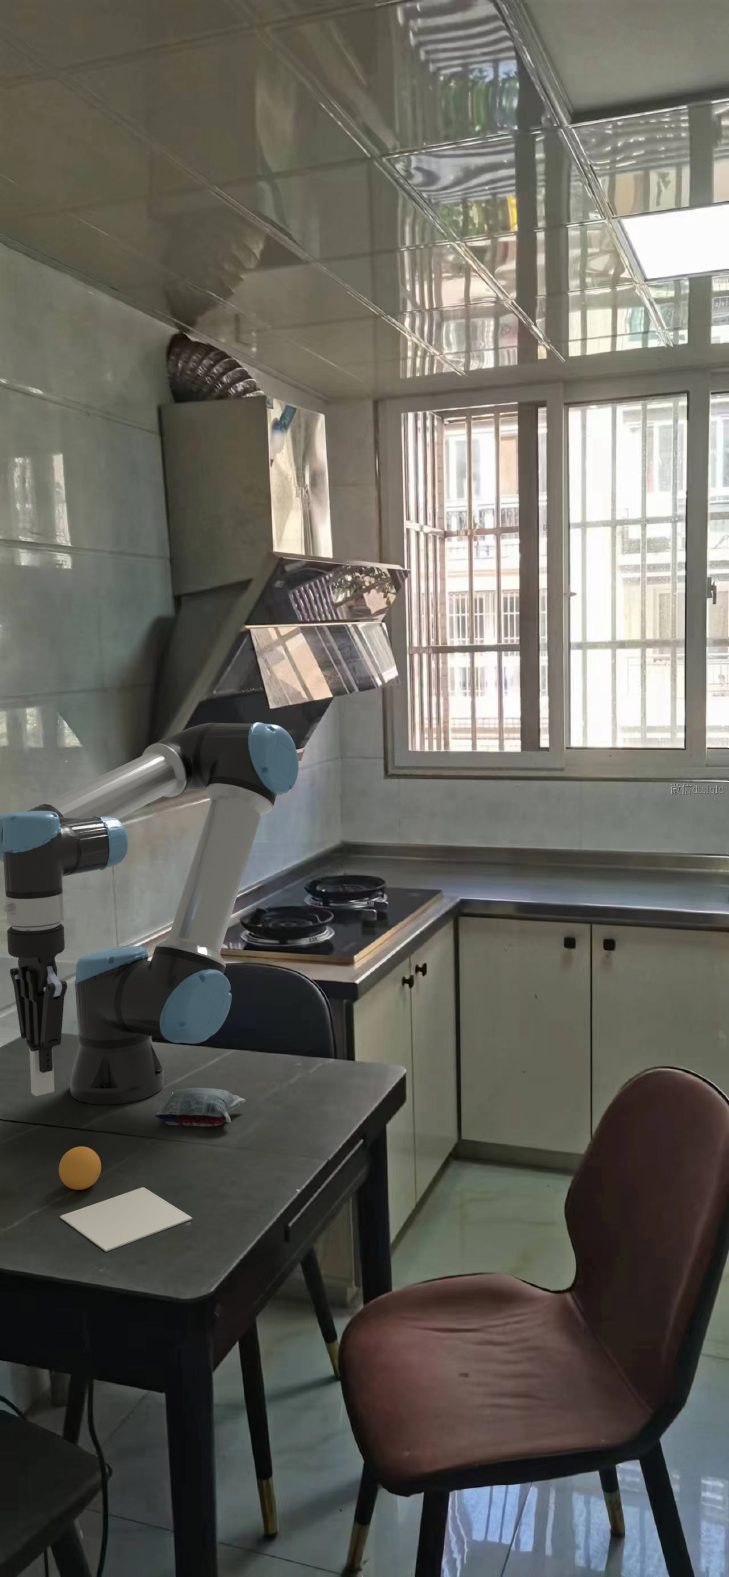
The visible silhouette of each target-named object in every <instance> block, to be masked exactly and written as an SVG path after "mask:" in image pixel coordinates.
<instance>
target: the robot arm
mask: <svg viewBox="0 0 729 1577" xmlns="http://www.w3.org/2000/svg"><path fill="white" fill-rule="evenodd" d="M298 755H299V754H298V751H297V748H296V744H295V742H294V740H293V738H292V736H291V735H290V733H289V732H288V731H287V730H286V729H285V728H283V727H282V726H280V725H278V724H272V723H263V722H259V721H258V722H254V723H244V722H243V723H242V722H241V723H235V722H234V723H231V722H230V723H227V722H226V723H224V722H221V723H220V722H207V723H202V724H198V725H194V726H192V727H189V728H186V729H184V730H181V731H179V732H175V733H174V734H172V735H170V736H168V737H164V738H163V739H161V740H159V741H157V742H154V743H151V744H150V745H149V746H148V747H146V748H145V749H144V751H143V752H142V755H140V757H137V758H135V759H133V760H131V761H129V762H127V763H125V764H122V765H121V766H119V767H118V766H117V767H116V768H115V769H112V770H111V771H108V772H106V773H103V775H100V776H97V777H96V778H94V779H92V780H90V781H88V782H86V783H83V784H82V785H79V786H77V787H75V788H73V789H71V790H69V791H67V792H65V793H63V794H60V795H59V796H57V797H55V798H53V799H50V800H48V801H46V802H44V803H41V804H39V805H38V806H35V807H33V808H30V809H29V810H27V811H18V812H9V813H0V862H1V863H3V872H4V874H3V875H4V889H5V890H4V891H5V905H4V906H3V907H2V908H3V911H4V912H6V924H8V925H9V926H10V927H9V928H8V929H7V931H6V936H7V938H6V939H7V952H8V955H9V956H11V957H13V958H17V964H18V966H17V967H13V968H10V969H9V974H10V975H9V976H10V977H11V978H10V979H11V982H12V984H13V989H14V990H13V992H14V997H15V999H14V1000H15V1004H16V1012H17V1019H18V1025H19V1032H20V1038H22V1039H23V1040H24V1039H26V1040H25V1041H26V1044H27V1046H28V1047H29V1048H28V1049H29V1050H28V1051H29V1065H30V1066H29V1069H30V1070H29V1071H30V1072H29V1073H30V1091H31V1092H30V1093H31V1095H33V1096H35V1097H38V1096H39V1097H40V1096H43V1095H46V1094H50V1093H54V1092H55V1076H54V1075H55V1072H54V1052H53V1049H54V1048H53V1047H56V1046H60V1045H61V1043H62V1031H63V1020H64V1019H63V1017H64V1004H65V996H66V992H67V989H68V983H67V981H66V980H61V981H60V980H59V979H58V967H57V962H56V959H55V958H56V956H57V955H58V954H61V953H63V952H64V950H65V947H66V944H65V943H66V942H65V927H64V925H63V924H62V922H63V921H64V919H65V918H64V917H65V915H64V914H65V913H64V912H65V910H64V891H63V877H68V876H71V875H75V874H82V873H87V872H93V871H97V870H99V871H103V870H105V869H107V868H110V867H111V868H112V867H114V866H117V865H118V864H120V863H122V862H123V861H124V859H125V857H126V856H127V854H128V850H129V837H128V836H129V835H128V832H127V830H126V827H124V825H123V824H122V822H121V821H120V819H122V818H123V817H125V816H127V815H130V814H131V813H133V812H135V811H136V810H138V809H141V808H142V807H145V806H146V805H148V804H150V803H153V802H154V801H156V800H158V799H160V798H162V797H164V798H165V797H166V798H174V797H176V796H179V795H181V794H182V793H185V792H189V791H190V792H191V791H205V792H206V794H207V796H208V798H209V800H210V805H209V808H208V811H207V815H206V817H205V820H204V824H203V828H202V831H201V833H200V837H199V840H198V843H197V845H196V850H195V853H194V856H193V858H192V862H191V864H190V867H189V868H190V869H189V872H188V874H187V878H186V881H185V884H184V888H183V890H182V893H181V897H180V900H179V903H178V906H177V909H176V912H175V916H174V918H173V922H172V926H171V928H170V932H169V934H168V937H167V938H166V939H165V940H163V941H161V942H159V943H158V944H156V945H155V947H154V949H153V950H154V951H153V953H152V956H151V960H149V956H150V955H149V953H148V951H147V948H145V947H144V946H139V945H135V946H134V945H132V946H120V947H113V948H107V949H104V950H99V951H95V952H91V953H89V954H86V955H84V956H82V957H81V958H79V959H78V961H77V962H76V965H75V980H74V987H75V988H74V989H75V1002H76V1016H77V1018H76V1019H77V1028H78V1029H77V1030H78V1031H77V1032H78V1050H77V1052H76V1056H75V1059H74V1064H73V1067H72V1071H71V1075H70V1080H69V1088H70V1089H69V1090H70V1092H69V1093H70V1095H71V1097H72V1098H73V1099H75V1100H76V1101H79V1102H82V1103H86V1104H91V1105H120V1104H126V1103H132V1102H137V1101H140V1100H144V1099H146V1098H149V1097H152V1096H153V1095H155V1094H157V1093H158V1092H160V1091H161V1090H162V1089H163V1088H164V1086H165V1076H164V1074H165V1073H164V1068H163V1066H162V1064H161V1060H160V1058H159V1056H158V1053H157V1051H156V1048H155V1045H154V1043H153V1040H152V1037H153V1038H159V1039H161V1040H162V1039H163V1040H167V1041H169V1042H171V1043H175V1044H180V1043H181V1044H182V1043H185V1044H192V1045H193V1044H200V1043H202V1042H205V1041H206V1040H208V1039H209V1038H211V1037H212V1036H214V1035H215V1034H216V1033H218V1031H219V1030H220V1028H221V1027H222V1026H223V1024H224V1023H225V1021H226V1018H227V1017H228V1014H229V1012H230V1009H231V1005H232V1004H231V1003H232V993H231V989H232V988H231V987H232V986H231V984H230V981H229V979H228V977H227V976H226V975H224V973H225V970H226V967H227V966H226V963H225V961H224V959H223V958H222V955H221V950H222V947H223V944H224V940H225V938H226V934H227V931H228V927H229V924H230V920H231V917H232V914H233V910H234V908H235V904H236V901H237V898H238V894H239V892H240V891H239V890H240V888H241V885H242V882H243V881H242V880H243V877H244V873H245V871H246V866H247V864H248V860H249V857H250V854H251V850H252V848H253V844H254V841H255V838H256V834H257V831H258V828H259V824H260V820H261V818H262V817H263V816H264V815H267V814H268V813H270V812H272V811H273V809H274V806H275V802H276V798H277V795H279V796H282V795H284V794H287V793H288V792H290V790H292V789H293V788H294V786H295V785H296V782H297V779H298V774H299V768H300V766H299V764H300V763H299V756H298Z"/></svg>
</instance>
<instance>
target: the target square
mask: <svg viewBox="0 0 729 1577" xmlns="http://www.w3.org/2000/svg"><path fill="white" fill-rule="evenodd" d="M59 1218H60V1219H61V1220H63V1221H64V1222H65V1223H67V1224H68V1225H69V1226H71V1227H72V1228H73V1229H75V1230H76V1231H77V1232H79V1234H81V1235H83V1236H84V1237H85V1238H87V1239H89V1241H90V1242H92V1243H93V1244H95V1245H96V1246H98V1247H99V1248H100V1249H102V1250H103V1251H104V1252H106V1253H107V1252H109V1251H112V1250H115V1249H117V1248H120V1247H122V1246H125V1245H128V1244H130V1243H133V1242H135V1241H139V1240H141V1239H144V1238H147V1237H149V1236H152V1235H155V1234H156V1233H159V1232H162V1231H165V1230H167V1229H168V1230H169V1228H173V1227H175V1226H178V1225H180V1224H183V1223H187V1222H188V1221H191V1220H193V1217H192V1216H190V1215H189V1214H187V1213H186V1212H184V1211H182V1209H179V1208H178V1207H176V1206H174V1205H173V1204H171V1203H170V1202H168V1201H166V1200H165V1199H163V1198H162V1197H160V1196H159V1195H157V1194H155V1193H154V1192H152V1191H150V1190H149V1189H147V1188H145V1187H144V1186H142V1187H140V1188H137V1189H134V1190H130V1191H128V1192H125V1193H122V1194H120V1195H116V1196H114V1197H111V1198H108V1199H105V1200H102V1201H99V1202H97V1203H94V1204H91V1205H88V1206H85V1207H82V1208H80V1209H76V1210H73V1211H71V1212H68V1213H65V1214H62V1215H60V1216H59Z"/></svg>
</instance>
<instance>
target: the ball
mask: <svg viewBox="0 0 729 1577" xmlns="http://www.w3.org/2000/svg"><path fill="white" fill-rule="evenodd" d="M101 1171H102V1162H101V1159H100V1155H98V1153H97V1152H96V1151H95V1150H93V1148H90V1147H87V1146H76V1147H73V1148H71V1149H69V1150H67V1152H65V1153H64V1154H63V1156H62V1158H61V1159H60V1162H59V1165H58V1175H59V1177H60V1180H61V1181H62V1183H63V1184H64V1185H65V1186H66V1187H68V1188H69V1189H72V1190H77V1191H78V1190H79V1191H80V1190H85V1189H88V1188H90V1187H91V1186H93V1185H94V1184H95V1183H96V1182H97V1180H98V1179H99V1177H100V1175H101Z"/></svg>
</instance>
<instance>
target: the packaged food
mask: <svg viewBox="0 0 729 1577" xmlns="http://www.w3.org/2000/svg"><path fill="white" fill-rule="evenodd" d="M244 1103H246V1099H245V1098H242V1097H240V1096H238V1095H236V1094H232V1093H231V1092H229V1091H228V1090H225V1089H219V1088H213V1087H211V1088H210V1087H187V1088H181V1089H175V1090H174V1091H172V1092H171V1096H169V1097H168V1099H167V1102H166V1104H165V1105H164V1106H163V1107H162V1108H161V1109H160V1110H159V1111H158V1112H156V1113H155V1114H154V1116H155V1117H156V1118H157V1119H159V1120H161V1121H163V1123H166V1124H167V1125H169V1126H187V1127H189V1126H191V1127H217V1126H221V1125H223V1124H225V1122H227V1123H230V1124H231V1123H232V1121H231V1117H230V1114H231V1113H232V1111H234V1110H235V1109H236V1108H238V1107H239V1106H240V1105H241V1104H244Z"/></svg>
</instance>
